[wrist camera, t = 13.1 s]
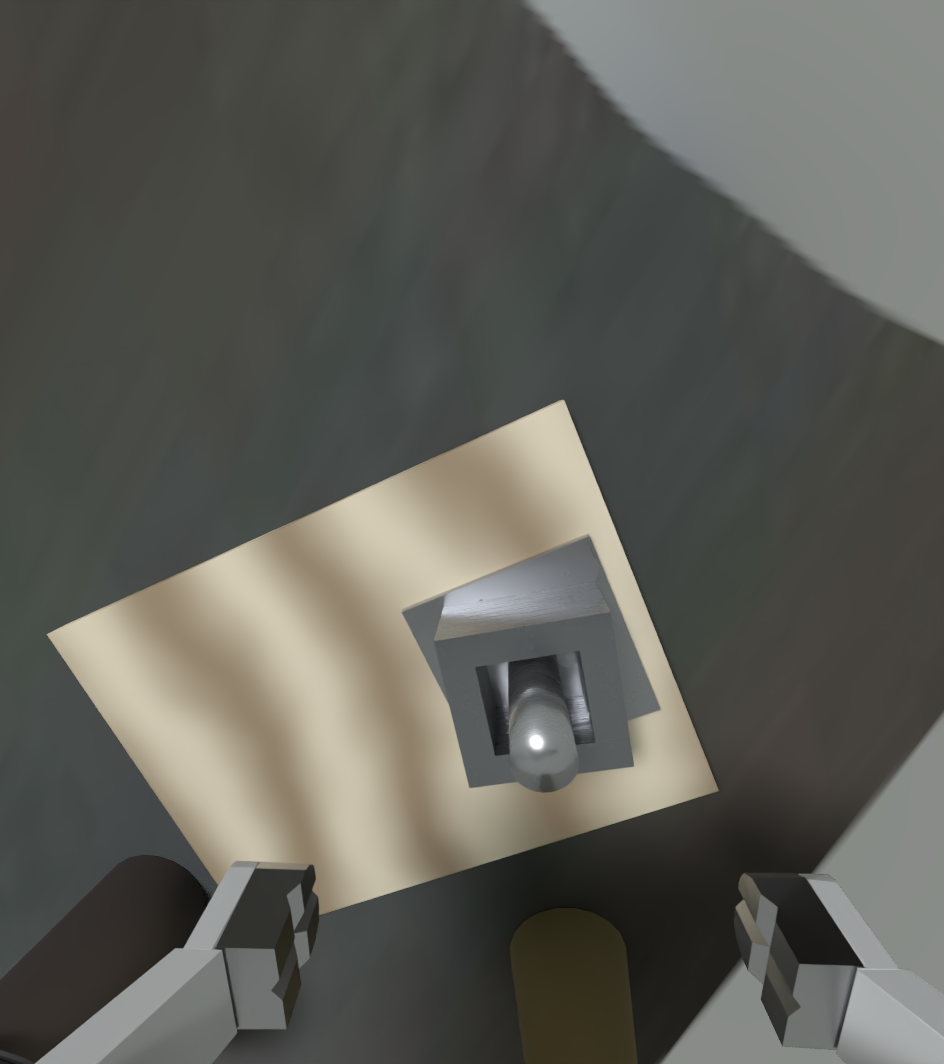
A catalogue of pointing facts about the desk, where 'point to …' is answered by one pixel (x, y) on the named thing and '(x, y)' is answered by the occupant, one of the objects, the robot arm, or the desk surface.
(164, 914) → the coffee cup
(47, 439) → the desk surface
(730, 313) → the desk surface
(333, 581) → the board
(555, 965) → the cork
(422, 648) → the post
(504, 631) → the link
